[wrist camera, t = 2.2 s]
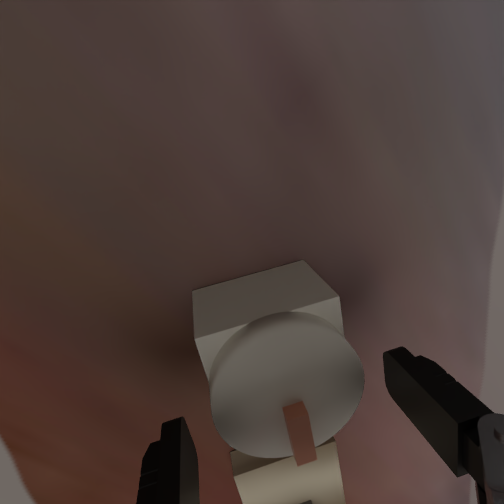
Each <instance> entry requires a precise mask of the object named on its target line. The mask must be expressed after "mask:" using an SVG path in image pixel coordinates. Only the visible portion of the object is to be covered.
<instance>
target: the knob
mask: <svg viewBox="0 0 504 504" xmlns="http://www.w3.org/2000/svg"><path fill="white" fill-rule="evenodd" d="M192 302H193V322H194V340H195V343H196V346H197V349H198V352H199V355H200V358H201V361H202V364H203V367H204V370H205V373H206V376H207V379H208V382H209V392H210V402H211V412H212V418H213V422H214V425H215V427H216V429H217V431H218V433H219V434H220V436H221V437H222V438H223V439H224V440H225V441H226V442H227V443H228V444H229V445H230V447H233V448H234V449H236V450H238V451H240V452H242V453H245V454H248V455H251V456H255V457H262V458H281V457H288V456H293V455H294V458H295V461H296V464H297V467H298V466H301V465H304V464H307V463H309V462H312V461H315V460H317V455H316V450H315V447H317V446H319V445H320V444H322V443H324V442H325V441H327V440H328V439H330V438H331V437H332V436H334V435H335V434H336V433H337V432H338V431H339V430H340V429H342V428H343V426H344V425H345V424H346V423H347V422H348V421H349V419H350V418H351V417H352V415H353V414H354V412H355V410H356V409H357V407H358V405H359V402H360V400H361V397H362V393H363V389H364V371H363V366H362V363H361V360H360V358H359V356H358V355H357V353H356V352H355V350H354V349H353V348H352V347H351V345H350V344H349V343H348V342H347V340H346V339H345V337H344V329H343V321H342V313H341V305H340V297H339V295H338V294H337V293H336V292H335V291H334V290H333V289H332V288H331V287H330V286H329V285H328V284H327V283H326V282H325V281H324V280H323V279H322V278H321V277H320V276H319V275H318V274H317V273H316V272H315V271H314V270H313V269H312V268H311V267H310V266H309V265H308V264H307V263H306V262H305V261H304V260H300V261H297V262H293V263H290V264H286V265H283V266H279V267H275V268H272V269H268V270H265V271H261V272H257V273H254V274H250V275H247V276H243V277H240V278H236V279H232V280H229V281H225V282H222V283H218V284H215V285H211V286H207V287H204V288H200V289H197V290H193V291H192Z"/></svg>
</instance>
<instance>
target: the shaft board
mask: <svg viewBox="0 0 504 504" xmlns="http://www.w3.org/2000/svg"><path fill="white" fill-rule="evenodd" d="M315 450H316V455H317V460H315V461H312V462H309V463H307V464H304V465H301V466H298V467H297V464H296V461H295V458H294V455H293V456H288V457H281V458H262V457H255V456H251V455H248V454H245V453H242V452H240V451H238V450H235V451H232V452H230V455H231V462H232V468H233V475H234V479H235V482H236V485H237V488H238V491H239V494H240V496H241V499H242V502H243V504H346V503H345V497H344V491H343V485H342V479H341V472H340V466H339V460H338V454H337V448H336V441H335V439H334V437H333V436H332V437H331V438H330V439H328V440H327V441H325V442H324V443H322V444H320V445H319V446H317V447H315Z"/></svg>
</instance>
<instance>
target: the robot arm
mask: <svg viewBox="0 0 504 504" xmlns="http://www.w3.org/2000/svg"><path fill="white" fill-rule="evenodd" d="M383 362H384V374H385V383H386V387H387V390H388V392H389V394H390V395H391V397H392V398H393V400H394V401H395V402H396V403H397V405H398V406H399V407H400V408H401V410H402V411H403V412H404V413H405V414H406V416H407V417H408V418H409V419H410V420H411V422H412V423H413V424H414V425H415V427H416V428H417V429H418V430H419V431H420V433H421V434H422V435H423V436H424V438H425V439H426V440H427V441H428V442H429V444H430V445H431V446H432V447H433V448H434V450H435V451H436V452H437V453H438V455H439V456H440V457H441V458H442V459H443V461H444V462H445V463H446V464H447V466H448V467H449V468H450V469H451V470H452V472H453V473H454V474H455V475H456V477H460V476H462V475H465V474H468V473H469V474H470V475H471V476H472V477H473V479H474V480H475V485H476V486H475V487H476V495H477V502H478V504H504V415H503V414H496V413H494V412H492V411H491V410H490V409H489V408H488V407H486V405H484V404H483V403H482V402H481V401H480V400H479V399H477V398H476V397H475V396H474V395H473V394H472V393H470V392H469V391H468V390H467V389H466V388H465V387H463V386H462V385H461V384H460V383H459V382H456V380H455V379H454V378H453V377H452V376H451V375H450V374H447V373H446V371H445V370H444V369H443V368H441V367H440V366H439V365H438V364H437V363H436V362H434V361H432V360H430V359H428V358H425V357H423V356H421V355H420V356H417V357H415V356H414V355H412V354H411V353H410V352H409V351H408V350H407V349H406V348H404V347H398V348H395V349H392V350H389V351H386V352H384V353H383ZM136 504H200V501H199V475H198V459H197V453H196V449H195V445H194V442H193V440H192V437H191V435H190V432H189V429H188V427H187V424H186V421H185V419H184V417H179V418H176V419H173V420H170V421H167V422H164V423H163V424H162V428H161V439H160V440H159V441H156V442H153V443H150V445H149V447H148V449H147V451H146V453H145V455H144V457H143V460H142V467H141V477H140V481H139V490H138V496H137V503H136Z"/></svg>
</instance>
